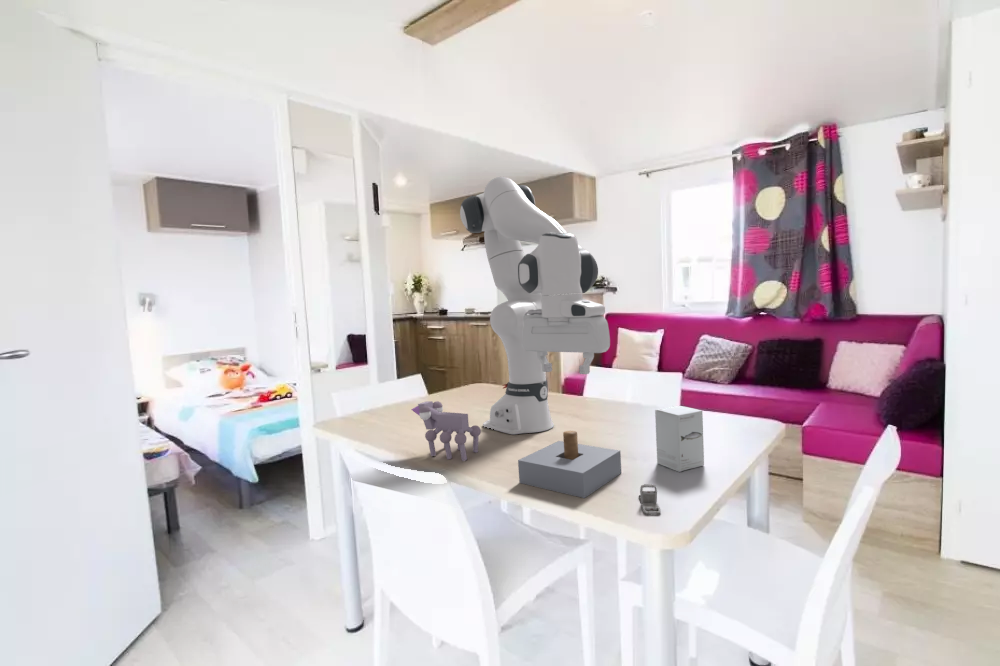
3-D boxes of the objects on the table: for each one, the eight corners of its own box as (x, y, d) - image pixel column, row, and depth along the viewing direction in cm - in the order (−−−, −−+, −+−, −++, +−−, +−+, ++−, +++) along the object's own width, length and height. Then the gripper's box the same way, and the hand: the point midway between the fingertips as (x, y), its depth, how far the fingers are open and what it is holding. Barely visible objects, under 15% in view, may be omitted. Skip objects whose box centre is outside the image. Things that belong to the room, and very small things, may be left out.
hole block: (519, 482, 108) (517, 460, 108) (559, 461, 120) (558, 440, 120) (584, 498, 98) (582, 473, 98) (621, 472, 110) (620, 450, 110)
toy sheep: (400, 454, 134) (398, 404, 133) (425, 445, 143) (424, 398, 142) (462, 463, 123) (460, 408, 123) (485, 452, 133) (483, 401, 132)
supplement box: (679, 473, 108) (677, 415, 107) (656, 463, 115) (653, 409, 114) (705, 466, 111) (703, 410, 110) (681, 457, 118) (679, 404, 117)
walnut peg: (563, 478, 109) (560, 433, 108) (570, 474, 111) (567, 430, 111) (575, 481, 107) (572, 435, 106) (582, 476, 109) (579, 431, 109)
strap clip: (661, 517, 89) (660, 493, 88) (644, 517, 89) (643, 493, 89) (653, 497, 97) (653, 476, 97) (637, 497, 97) (636, 476, 97)
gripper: (514, 310, 111) (518, 372, 112) (596, 307, 98) (600, 377, 99) (531, 309, 116) (534, 368, 117) (612, 305, 103) (615, 372, 104)
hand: (565, 372), depth 108 cm, fingers open, 8 cm apart
